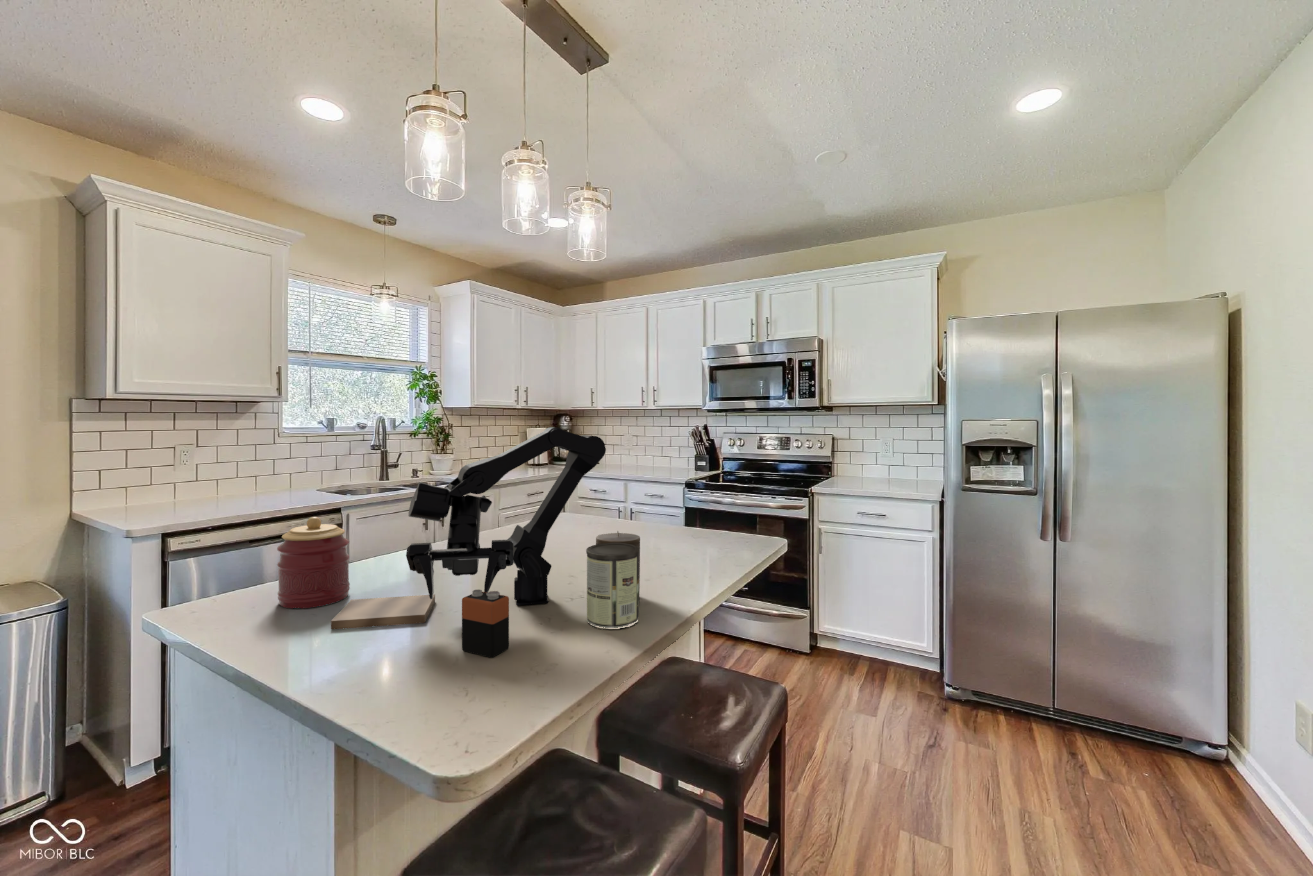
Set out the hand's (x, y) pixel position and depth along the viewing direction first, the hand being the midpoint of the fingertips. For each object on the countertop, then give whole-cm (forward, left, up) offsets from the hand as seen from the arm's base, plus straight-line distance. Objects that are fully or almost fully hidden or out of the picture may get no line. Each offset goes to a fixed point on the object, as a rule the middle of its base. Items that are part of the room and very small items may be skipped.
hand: (458, 596), depth 97 cm
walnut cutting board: (+15, -14, -7) cm, 21 cm away
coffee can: (-28, -2, -7) cm, 29 cm away
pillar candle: (-31, -14, -7) cm, 35 cm away
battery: (-5, +7, -7) cm, 12 cm away
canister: (+32, -27, -7) cm, 42 cm away
